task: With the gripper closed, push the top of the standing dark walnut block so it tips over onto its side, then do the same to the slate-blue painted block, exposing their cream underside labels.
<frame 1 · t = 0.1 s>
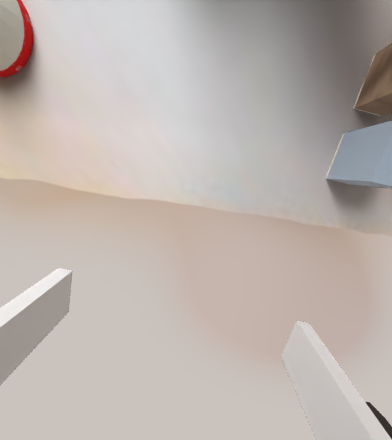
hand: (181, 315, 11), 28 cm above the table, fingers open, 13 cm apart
slate block: (347, 159, 35), on the table
walnut block: (377, 86, 32), on the table
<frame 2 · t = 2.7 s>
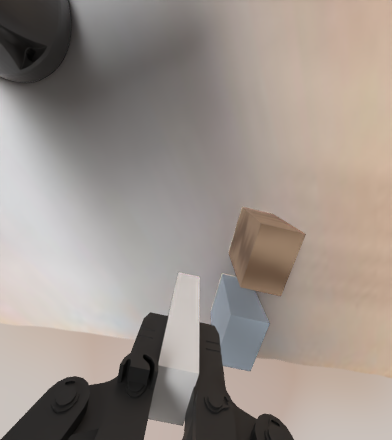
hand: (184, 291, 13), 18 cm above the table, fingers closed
slate block: (229, 295, 35), on the table
walnut block: (249, 233, 32), on the table
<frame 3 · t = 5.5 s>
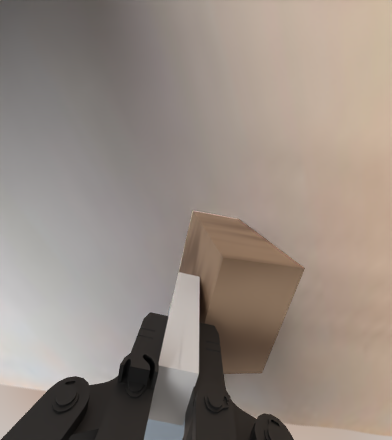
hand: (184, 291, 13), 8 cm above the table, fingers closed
slate block: (183, 334, 24), on the table
walnut block: (206, 249, 21), on the table, tilted 12°
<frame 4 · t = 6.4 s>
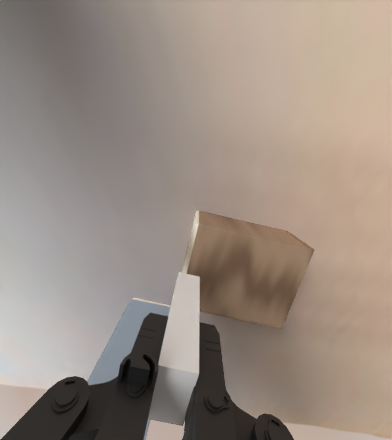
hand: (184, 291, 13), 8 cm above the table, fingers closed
slate block: (147, 328, 24), on the table
walnut block: (186, 254, 19), point 2 cm above the table, tilted 90°
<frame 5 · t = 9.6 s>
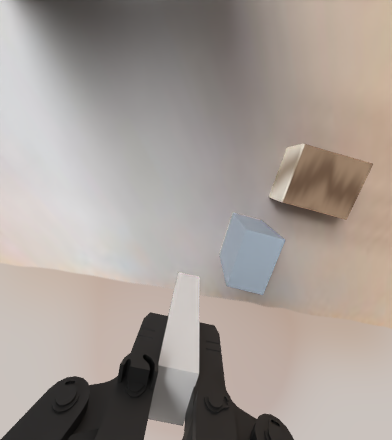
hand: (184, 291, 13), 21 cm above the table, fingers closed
slate block: (239, 237, 34), on the table
walnut block: (283, 173, 29), point 2 cm above the table, tilted 90°
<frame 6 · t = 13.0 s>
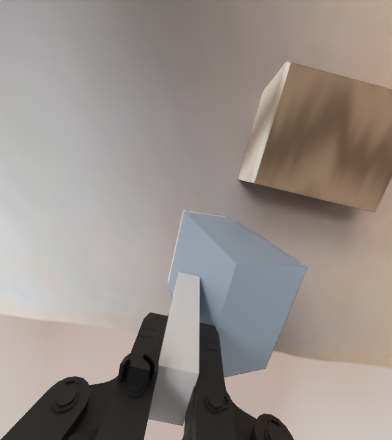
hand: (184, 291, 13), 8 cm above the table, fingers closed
slate block: (197, 249, 21), point 1 cm above the table, tilted 21°
walnut block: (257, 132, 16), point 2 cm above the table, tilted 90°
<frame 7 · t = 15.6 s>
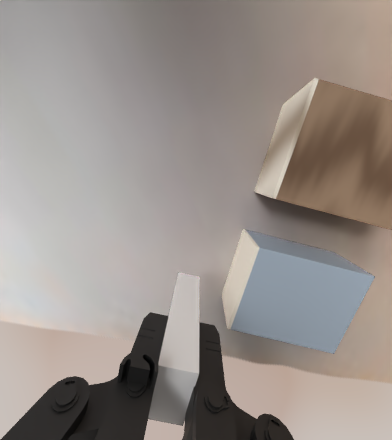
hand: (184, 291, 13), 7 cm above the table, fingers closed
slate block: (235, 274, 19), point 2 cm above the table, tilted 90°
walnut block: (277, 146, 16), point 2 cm above the table, tilted 90°
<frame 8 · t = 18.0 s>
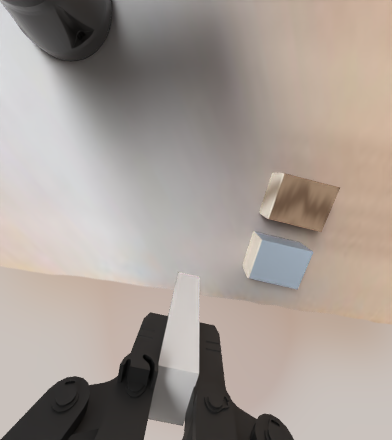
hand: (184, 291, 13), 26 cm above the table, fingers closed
slate block: (250, 253, 38), point 2 cm above the table, tilted 90°
walnut block: (269, 194, 36), point 2 cm above the table, tilted 90°
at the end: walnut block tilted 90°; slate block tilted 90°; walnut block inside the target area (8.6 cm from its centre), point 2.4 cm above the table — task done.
